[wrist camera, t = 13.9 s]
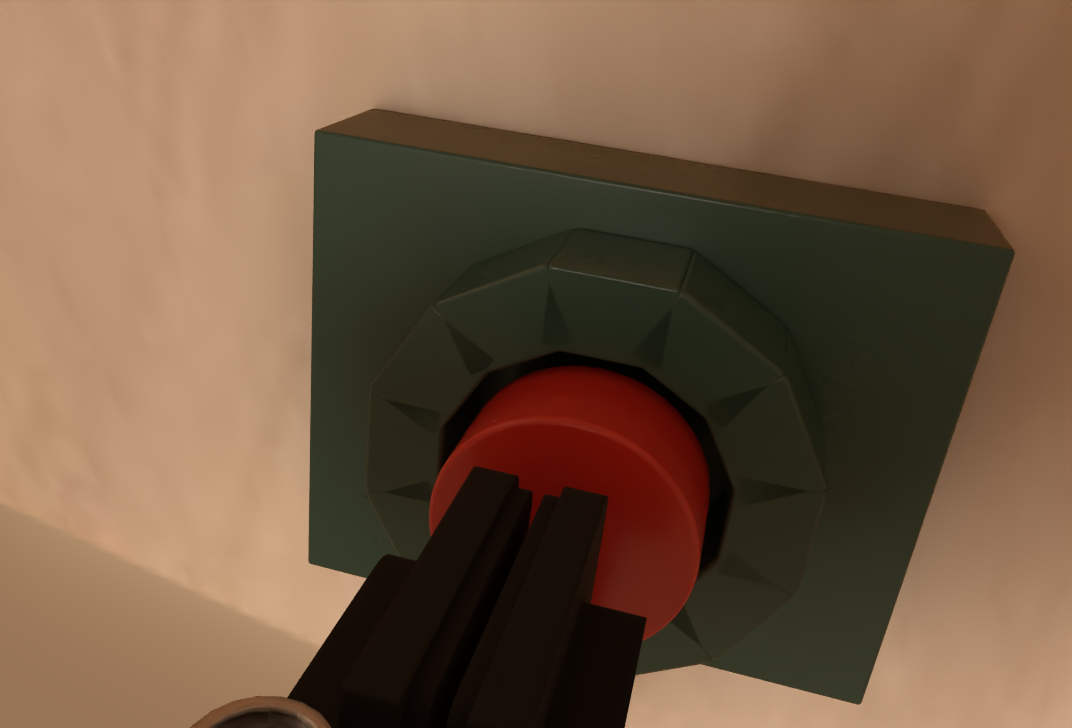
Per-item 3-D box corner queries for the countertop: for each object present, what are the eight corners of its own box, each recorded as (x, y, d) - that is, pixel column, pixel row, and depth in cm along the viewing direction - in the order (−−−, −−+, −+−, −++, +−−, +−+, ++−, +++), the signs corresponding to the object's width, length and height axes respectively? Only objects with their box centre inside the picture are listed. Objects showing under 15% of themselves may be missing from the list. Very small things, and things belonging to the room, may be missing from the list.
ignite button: (733, 393, 13) (724, 454, 11) (685, 606, 14) (672, 686, 13) (477, 339, 13) (436, 391, 12) (457, 549, 15) (418, 619, 13)
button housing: (987, 210, 14) (1049, 294, 11) (853, 623, 18) (868, 791, 14) (371, 107, 16) (252, 152, 13) (355, 502, 20) (258, 625, 16)
